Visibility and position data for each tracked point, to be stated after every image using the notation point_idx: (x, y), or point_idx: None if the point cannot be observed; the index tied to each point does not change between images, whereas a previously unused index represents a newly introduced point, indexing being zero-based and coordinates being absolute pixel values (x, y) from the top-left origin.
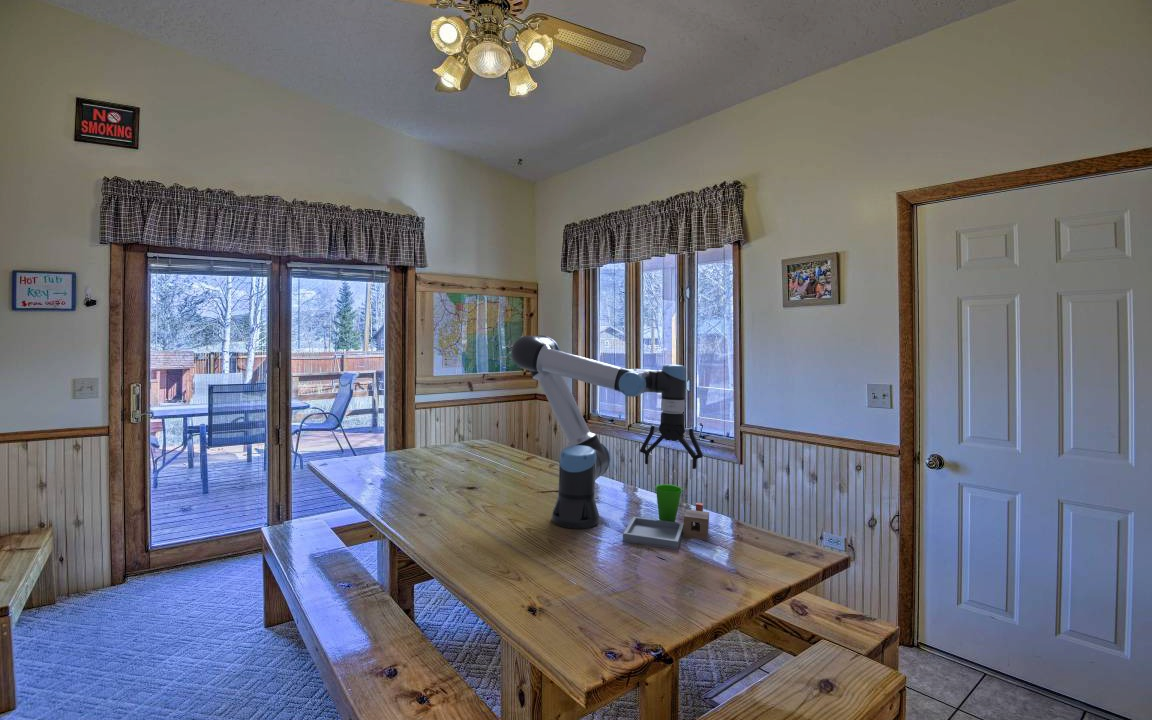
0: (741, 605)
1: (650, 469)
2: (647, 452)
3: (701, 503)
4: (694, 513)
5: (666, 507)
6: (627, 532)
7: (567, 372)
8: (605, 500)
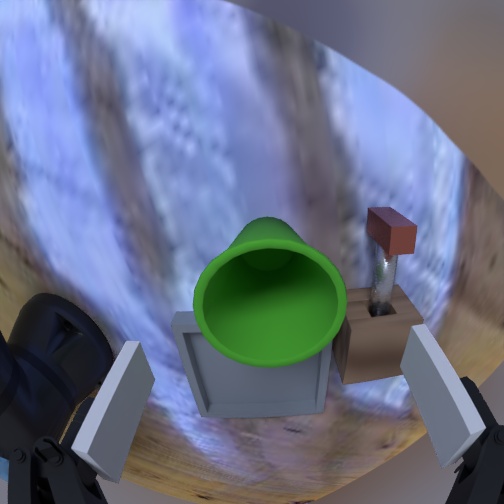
0: (388, 458)
1: (140, 392)
2: (89, 491)
3: (410, 231)
4: (375, 353)
5: (270, 309)
6: (206, 410)
7: None
8: (30, 147)
